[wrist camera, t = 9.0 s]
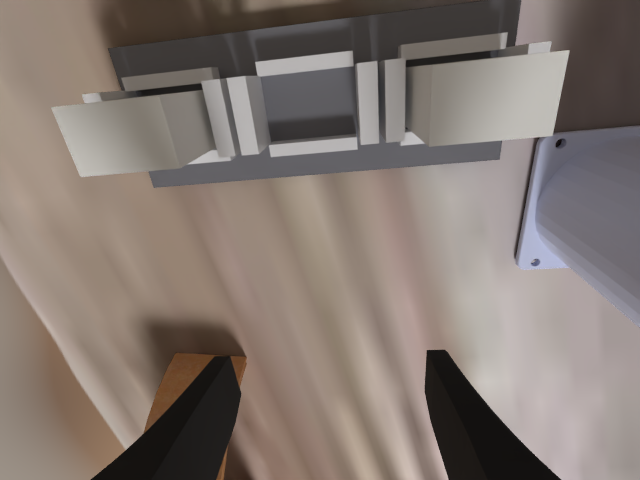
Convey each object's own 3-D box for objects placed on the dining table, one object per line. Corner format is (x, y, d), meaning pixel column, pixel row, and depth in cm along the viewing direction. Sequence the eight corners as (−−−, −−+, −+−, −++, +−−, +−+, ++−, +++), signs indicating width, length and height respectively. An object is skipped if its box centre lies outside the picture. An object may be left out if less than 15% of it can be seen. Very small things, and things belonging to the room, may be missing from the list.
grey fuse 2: (490, 58, 15) (569, 49, 10) (484, 115, 16) (552, 136, 11) (402, 67, 16) (432, 65, 10) (401, 123, 17) (429, 146, 12)
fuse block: (515, -1, 15) (562, -22, 12) (495, 155, 18) (528, 173, 15) (116, 49, 17) (62, 44, 14) (159, 183, 20) (123, 205, 17)
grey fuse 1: (218, 88, 17) (159, 95, 11) (229, 139, 18) (180, 168, 12) (142, 96, 17) (51, 107, 12) (158, 146, 18) (80, 177, 13)
